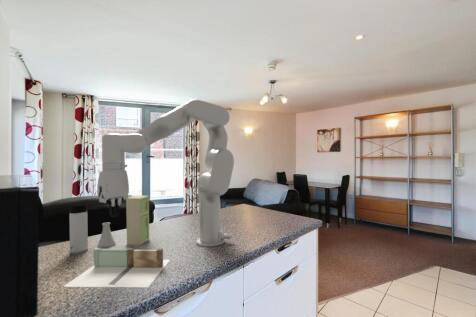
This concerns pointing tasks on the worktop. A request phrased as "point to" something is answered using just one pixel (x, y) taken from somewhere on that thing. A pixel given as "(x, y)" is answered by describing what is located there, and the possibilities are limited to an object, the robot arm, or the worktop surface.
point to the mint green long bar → (110, 257)
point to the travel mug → (78, 229)
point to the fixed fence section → (145, 258)
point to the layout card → (117, 276)
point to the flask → (106, 237)
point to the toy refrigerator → (137, 220)
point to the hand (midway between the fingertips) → (114, 216)
